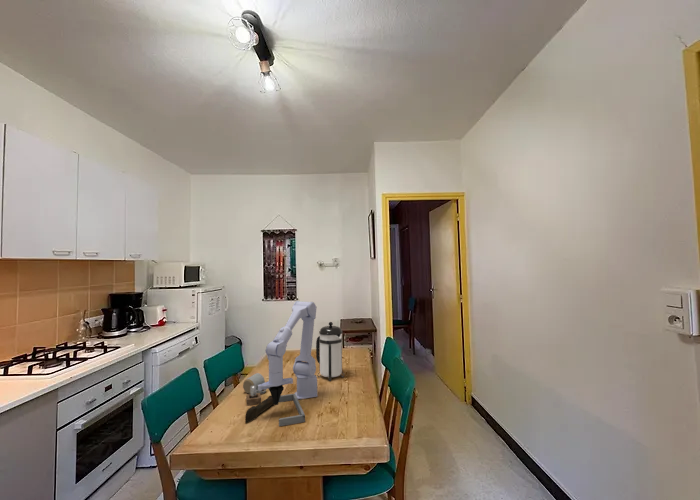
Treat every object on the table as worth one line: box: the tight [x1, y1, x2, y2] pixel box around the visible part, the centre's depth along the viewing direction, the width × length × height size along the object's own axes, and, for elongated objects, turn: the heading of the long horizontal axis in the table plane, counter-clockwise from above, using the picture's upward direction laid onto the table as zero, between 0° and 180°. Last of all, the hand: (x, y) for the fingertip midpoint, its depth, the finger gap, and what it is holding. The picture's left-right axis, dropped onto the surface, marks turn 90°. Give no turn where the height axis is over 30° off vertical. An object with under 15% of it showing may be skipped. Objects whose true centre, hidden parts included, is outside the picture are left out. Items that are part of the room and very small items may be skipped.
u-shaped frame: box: [278, 393, 306, 427], centre depth 134 cm, size 10×23×2 cm, turn 20°
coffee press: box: [315, 321, 345, 382], centre depth 177 cm, size 17×16×30 cm
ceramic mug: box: [242, 372, 267, 395], centre depth 156 cm, size 11×8×8 cm
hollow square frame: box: [245, 393, 262, 407], centre depth 144 cm, size 6×6×2 cm
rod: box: [250, 385, 256, 398], centre depth 144 cm, size 3×3×7 cm
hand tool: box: [244, 394, 275, 424], centre depth 133 cm, size 19×4×5 cm, turn 158°
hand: (275, 404), depth 132 cm, fingers closed
